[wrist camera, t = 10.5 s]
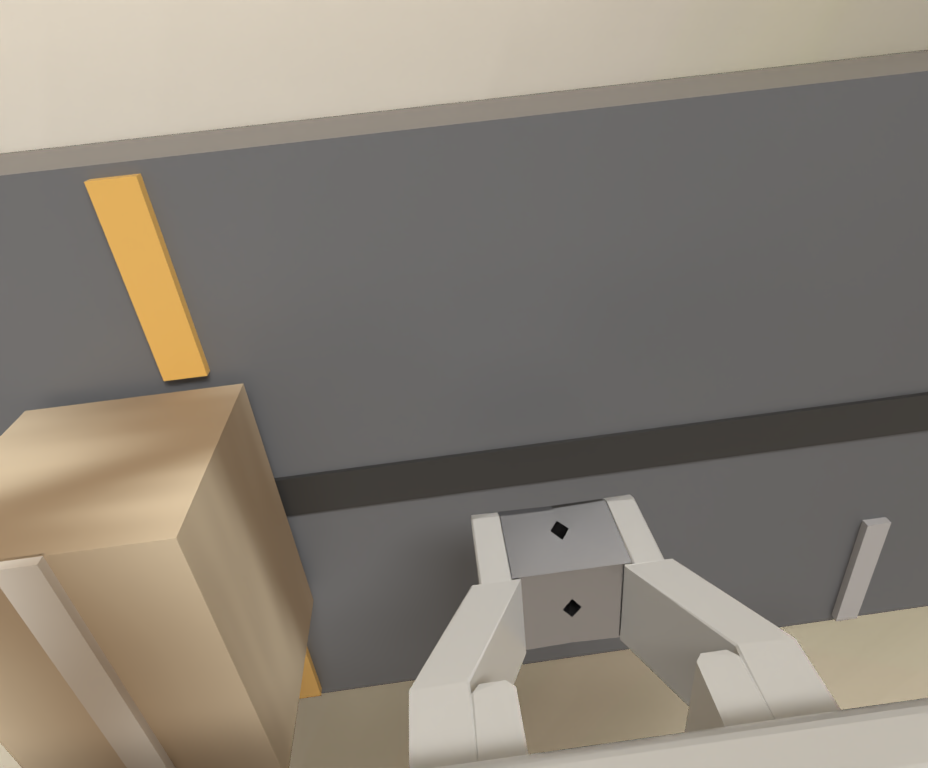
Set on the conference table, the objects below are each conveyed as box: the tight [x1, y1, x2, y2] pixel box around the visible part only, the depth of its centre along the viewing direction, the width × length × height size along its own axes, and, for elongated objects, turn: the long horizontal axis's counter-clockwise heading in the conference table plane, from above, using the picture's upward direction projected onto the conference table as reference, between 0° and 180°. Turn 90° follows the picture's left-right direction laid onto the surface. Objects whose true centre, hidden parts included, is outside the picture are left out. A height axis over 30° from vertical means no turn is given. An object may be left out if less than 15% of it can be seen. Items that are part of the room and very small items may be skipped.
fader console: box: [0, 50, 928, 699], centre depth 14 cm, size 26×14×3 cm, turn 96°
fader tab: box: [0, 384, 314, 768], centre depth 11 cm, size 4×6×4 cm, turn 5°
